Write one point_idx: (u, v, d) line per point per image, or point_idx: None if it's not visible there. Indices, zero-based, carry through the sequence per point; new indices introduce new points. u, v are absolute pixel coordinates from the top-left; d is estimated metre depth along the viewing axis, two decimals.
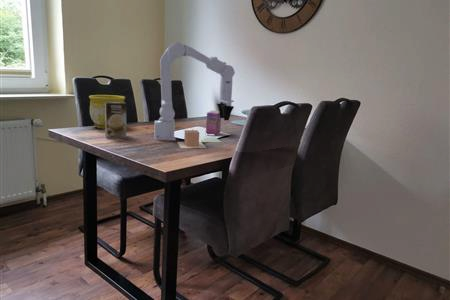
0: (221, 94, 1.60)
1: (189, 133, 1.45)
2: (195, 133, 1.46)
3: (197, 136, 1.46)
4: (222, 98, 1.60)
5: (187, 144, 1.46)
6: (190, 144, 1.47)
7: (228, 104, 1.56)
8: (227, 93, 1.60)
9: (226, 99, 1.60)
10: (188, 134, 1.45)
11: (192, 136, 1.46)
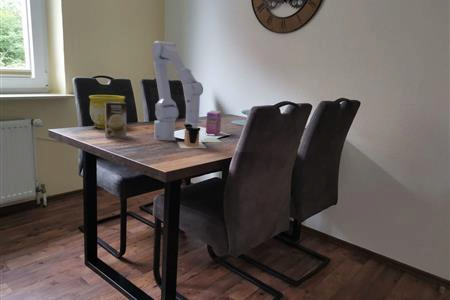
0: (187, 115, 1.45)
1: None
2: None
3: (197, 136, 1.46)
4: (188, 119, 1.45)
5: (187, 144, 1.46)
6: (190, 144, 1.47)
7: (194, 126, 1.40)
8: (193, 114, 1.44)
9: (192, 120, 1.44)
10: (188, 134, 1.45)
11: None
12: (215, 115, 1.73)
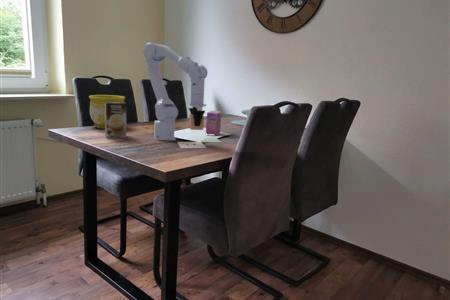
0: (192, 98, 1.45)
1: None
2: None
3: (202, 120, 1.47)
4: (193, 102, 1.45)
5: (192, 128, 1.47)
6: (195, 128, 1.47)
7: (198, 109, 1.41)
8: (198, 96, 1.45)
9: (197, 103, 1.45)
10: (193, 117, 1.46)
11: None
12: (215, 115, 1.73)
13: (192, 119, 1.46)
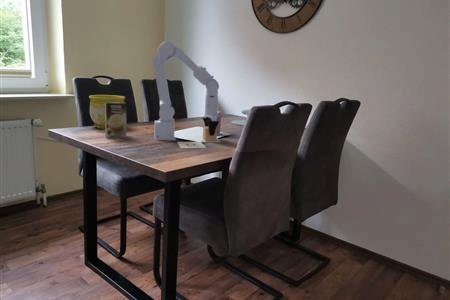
0: (206, 109, 1.56)
1: (208, 129, 1.57)
2: None
3: (215, 132, 1.59)
4: (207, 113, 1.56)
5: (206, 139, 1.58)
6: (208, 139, 1.59)
7: (213, 119, 1.52)
8: (212, 108, 1.55)
9: (211, 114, 1.56)
10: (207, 130, 1.57)
11: None
12: None
13: (206, 131, 1.57)
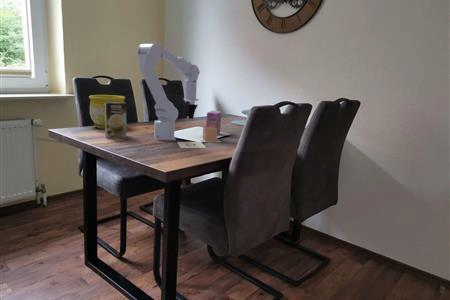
0: (185, 93, 1.64)
1: (208, 129, 1.57)
2: (213, 129, 1.58)
3: (215, 132, 1.59)
4: (186, 97, 1.64)
5: (206, 139, 1.58)
6: (208, 139, 1.59)
7: (191, 103, 1.60)
8: (191, 92, 1.63)
9: (190, 98, 1.64)
10: (207, 130, 1.57)
11: (210, 132, 1.58)
12: (215, 115, 1.73)
13: (206, 131, 1.57)
